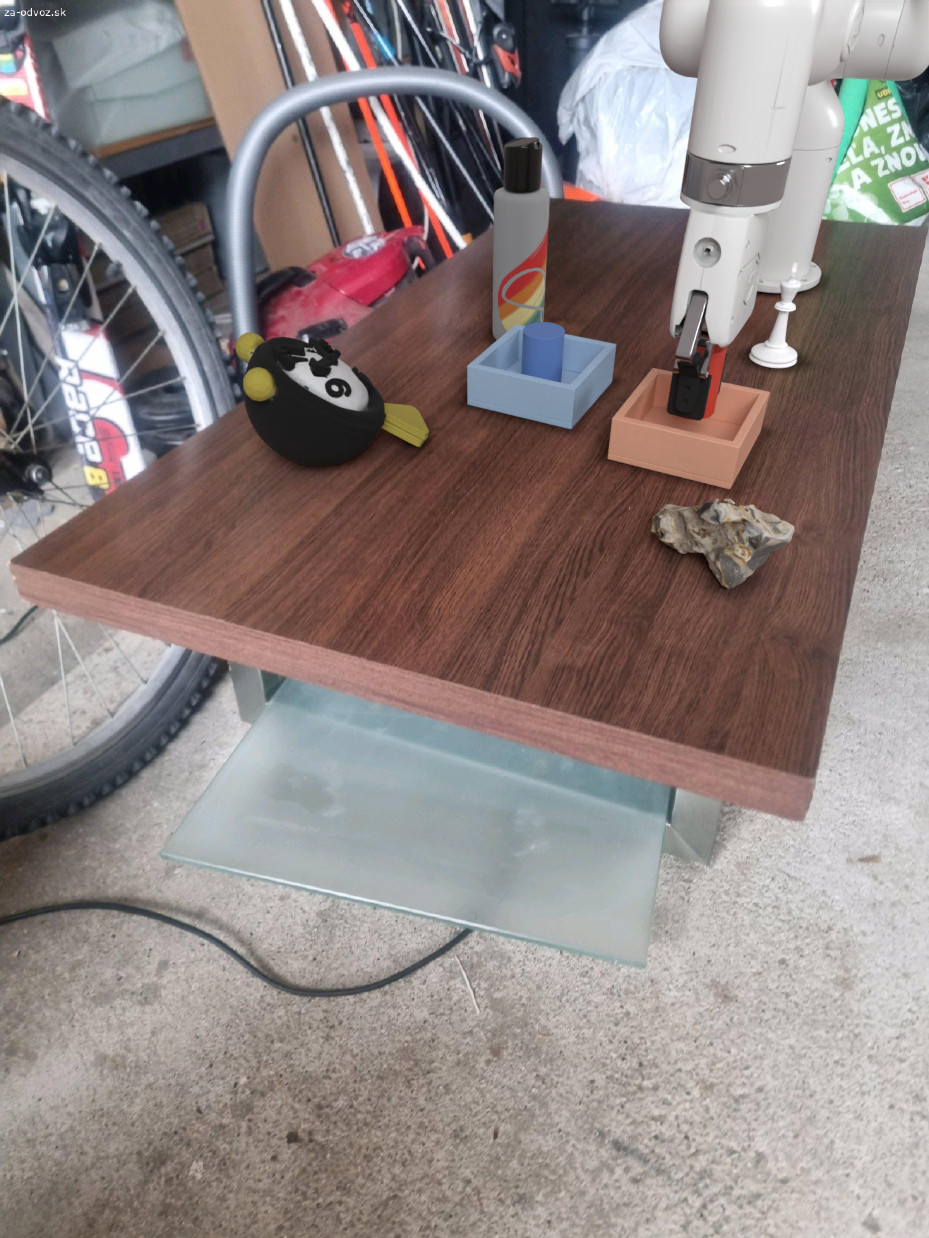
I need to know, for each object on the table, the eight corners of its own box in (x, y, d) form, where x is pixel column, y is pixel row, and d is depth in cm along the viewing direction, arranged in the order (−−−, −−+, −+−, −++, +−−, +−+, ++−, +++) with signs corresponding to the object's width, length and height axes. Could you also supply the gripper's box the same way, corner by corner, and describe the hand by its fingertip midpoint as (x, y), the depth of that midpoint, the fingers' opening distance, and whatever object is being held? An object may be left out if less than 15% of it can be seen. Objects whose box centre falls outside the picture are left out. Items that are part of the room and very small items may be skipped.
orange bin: (647, 406, 85) (652, 367, 82) (760, 432, 81) (770, 391, 78) (607, 459, 78) (611, 418, 75) (729, 490, 74) (739, 447, 71)
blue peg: (530, 376, 89) (533, 319, 85) (566, 384, 87) (571, 326, 83) (514, 392, 86) (516, 334, 82) (551, 400, 85) (554, 342, 81)
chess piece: (797, 352, 94) (822, 257, 87) (795, 371, 90) (820, 274, 84) (751, 346, 95) (771, 252, 89) (747, 364, 92) (768, 269, 85)
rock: (617, 566, 63) (739, 531, 56) (627, 483, 66) (745, 440, 59) (686, 613, 68) (807, 586, 61) (693, 534, 71) (809, 500, 64)
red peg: (675, 395, 79) (686, 331, 75) (719, 404, 77) (732, 340, 73) (662, 414, 76) (672, 348, 72) (707, 424, 75) (720, 358, 71)
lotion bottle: (538, 348, 95) (548, 146, 82) (488, 344, 96) (489, 144, 83) (545, 327, 99) (556, 132, 86) (496, 324, 100) (500, 130, 87)
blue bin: (514, 361, 93) (515, 323, 90) (612, 382, 89) (616, 343, 86) (467, 404, 85) (466, 365, 83) (571, 429, 82) (574, 389, 79)
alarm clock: (391, 525, 77) (327, 417, 64) (262, 486, 82) (179, 380, 69) (448, 422, 80) (399, 300, 67) (321, 392, 86) (253, 274, 73)
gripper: (758, 217, 57) (708, 458, 70) (807, 159, 69) (757, 375, 81) (649, 202, 60) (620, 437, 72) (714, 149, 71) (679, 360, 83)
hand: (693, 402), depth 76 cm, fingers closed on red peg, 4 cm apart
